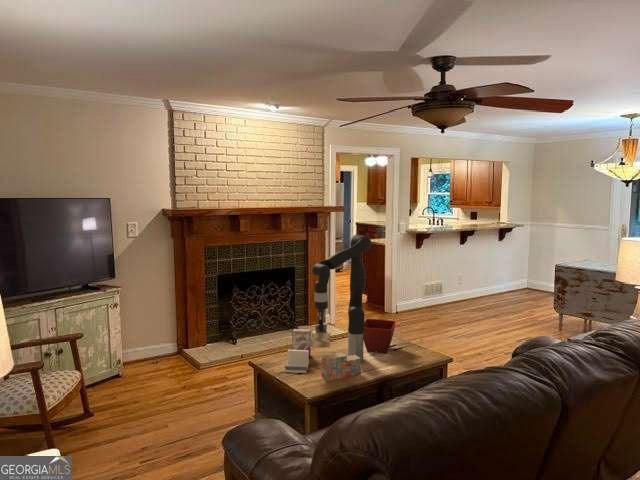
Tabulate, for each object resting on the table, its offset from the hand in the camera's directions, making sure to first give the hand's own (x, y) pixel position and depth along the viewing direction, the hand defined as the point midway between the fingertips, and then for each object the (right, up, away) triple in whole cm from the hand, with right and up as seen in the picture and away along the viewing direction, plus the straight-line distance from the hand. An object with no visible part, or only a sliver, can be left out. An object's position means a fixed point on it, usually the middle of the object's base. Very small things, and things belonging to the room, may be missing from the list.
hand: (321, 330), depth 259 cm
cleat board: (-14, -23, +6) cm, 28 cm away
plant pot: (+36, -20, +37) cm, 56 cm away
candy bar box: (-12, -21, +25) cm, 35 cm away
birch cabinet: (0, -9, +1) cm, 9 cm away
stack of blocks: (+11, -25, -3) cm, 27 cm away
